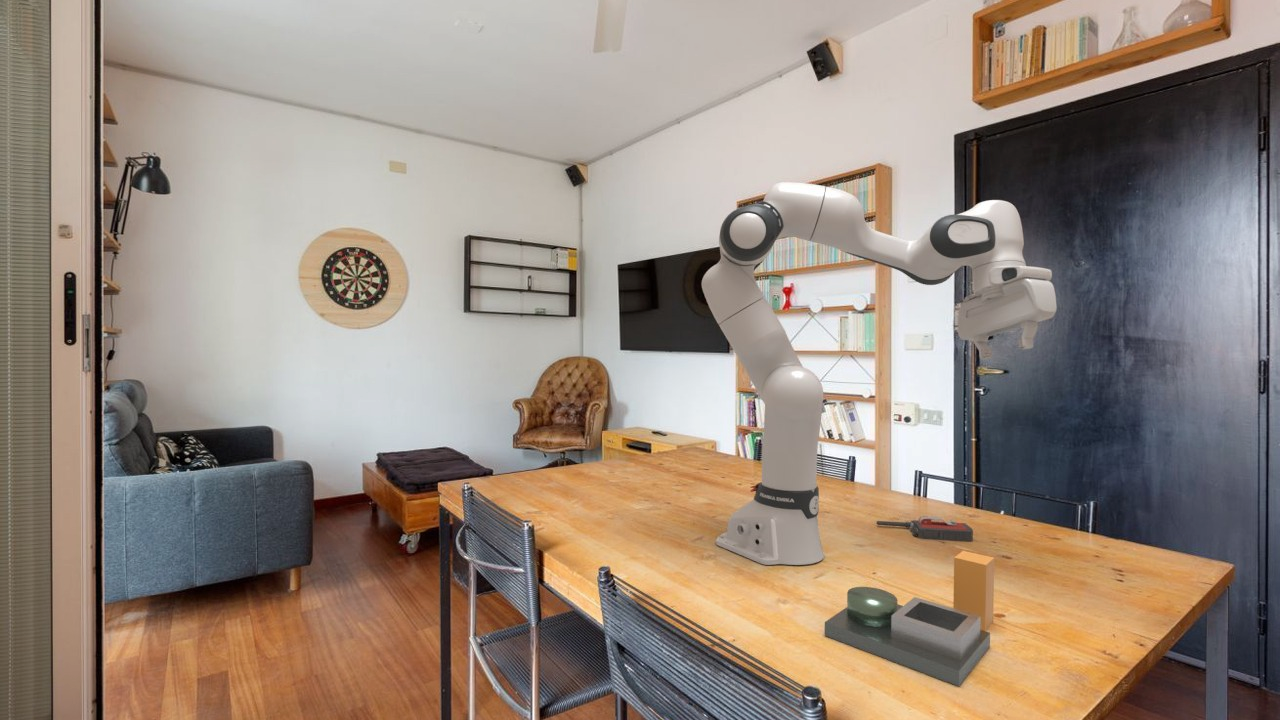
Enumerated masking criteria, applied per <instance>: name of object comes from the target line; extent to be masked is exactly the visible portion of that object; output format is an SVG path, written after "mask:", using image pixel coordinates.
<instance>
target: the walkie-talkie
mask: <svg viewBox="0 0 1280 720" xmlns="http://www.w3.org/2000/svg"><path fill="white" fill-rule="evenodd" d="M876 525H877V526H886V527H887V526H888V527H905V528H908V530H909V531H910V532H911V533H912V535H913V536H915V537H917V538H918V539H921V540H931V541H932V540H933V541H949V542H965V543H969V542H970V543H972V542H973V541H974V537H973V535H974V529H973V528H972V527H971V526H969V525H968V524H967V523H966V522H965V523H964V522H956V521H955V520H954V519H950V521H945V520H944V519H942V518H941V517H939V516H925V515H923V516H920V517H919V518H918V520H916V519H910V521H905V522H904V521H889V520H877V521H876ZM916 535H917V536H916Z"/></svg>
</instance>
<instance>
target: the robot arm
mask: <svg viewBox="0 0 1280 720" xmlns="http://www.w3.org/2000/svg"><path fill="white" fill-rule="evenodd" d="M782 238H796V239H800V240H803V241H808V242H812V243H816V244H819V245H824V246H828V247H831V248H835V249H837V250H839V251H842V252H843V253H846V254H849V255H851V256H854V257H856V258H859V259H862V260H866V261H869V262H872V263H875V264H878V265H881V266H884V267H888V268H891V269H895V270H896V271H899V272H901V273H903V274H904V275H906V276H907V277H909V278H910V280H911V279H912V280H914V281H915V282H916V283H919V284H921V285H925V286H935V285H940V284H942V283H944V282H946V281H948V280H949V279H951V277H952V276H953V275H954V273H956V271H957V270H958V269H960V268H961V267H963V266H969V267H970V268H971V270H972V271H971V273H972V274H971V275H972V285H973V294H970V295H967V296H965V297H964V299H963V301H962V302H961V304H960V307H959V309H958V316H957V317H958V318H957V336H958V337H959V338H960V340H964V341H973V344H974V345H975V347H976V349H977V350H978V352H979V355H978V356H979V359H981V360H988V359H993V357H994V354H993V351H994V350H993V349H992V348H989V346H988V344H987V343H988V342H989V337H992V336H995V335H998V334H1002V333H1005V332H1009V331H1013V330H1016V329H1020V328H1021V329H1023V332H1022V334H1021V336H1020V337H1021V338H1018V339H1017V344H1018V349H1019V350H1030V349H1033V348H1034V338H1035V335H1036V333H1037V331H1038V329H1039V327H1038V323H1040V322H1042V321H1047V320H1049V319H1053V318H1054V316H1055V315H1056V313H1057V308H1058V307H1057V296H1056V291H1055V285H1054V284H1053V283H1052V282H1051V280H1052V278H1053V273H1052V272H1053V271H1052V269H1050V268H1044V267H1039V266H1027V264H1026V261H1025V258H1024V255H1023V249H1024V246H1025V241H1024V232H1023V225H1022V220H1021V217H1020V213H1019V212H1018V209H1017V208H1016V206H1015V205H1013V203H1011V202H1009V201H1006V200H1002V199H991V200H990V199H989V200H983V201H981V202H978V203H977V204H975V205H974V206H973V207H971V208H970V209H968V210H966V211H963V212H960V213H957V214H948V215H945V216H943V217H940V218H939V219H937V220H936V221H935V222H934V223H933V224H932V225H931V226H930V227H929V228H928V229H927V230H926V232H924V234H923V235H922V236H921V237H920V238H917V239H914V240H908V239H904V238H900V237H897V236H894V235H891V234H887V233H884V232H881V231H878V230H876V229H873V228H872V227H870V225H869V224H868V223H867V221H866V220H865V213H864V210H863V207H862V204H861V202H860V201H859V199H858V198H857V197H856V196H855V195H854V194H852V193H850V192H847V191H845V190H842V189H839V188H834V187H830V186H826V185H819V184H814V183H807V182H796V181H795V182H793V181H792V182H791V181H788V182H787V181H783V182H782V181H781V182H778V183H775V184H773V185H772V186H771V187H770V188H769V189H768V191H767V192H766V194H765V196H764V198H763V200H762V201H759V202H756V203H752V204H749V205H744V206H741V207H739V208H736V209H735V210H734V209H733V211H731V212H730V213H729V214H728V215H727V216H726V217H725V218H724V220H723V222H722V223H721V226H720V231H719V236H718V244H719V252H720V254H719V255H720V257H719V258H720V259H719V261H718V262H717V263H716V264H714V265H713V266H711V267H710V268H709V269H708V270H707V271H706V272H705V273H704V275H703V277H702V280H701V289H702V292H703V294H704V298H705V299H706V300H705V301H706V303H707V304H708V308H709V309H710V311H711V313H712V315H713V317H714V319H715V321H716V323H717V325H718V326H719V327H720V330H721V332H722V333H723V335H724V336H725V338H726V340H727V341H728V343H729V345H730V346H731V348H732V350H733V351H734V353H735V355H736V356H737V358H738V360H739V362H740V364H741V365H742V367H743V368H744V370H745V372H746V374H747V376H748V378H749V380H750V381H751V383H752V384H753V386H754V388H755V390H756V391H757V394H758V395H759V397H760V398H761V400H762V403H764V417H763V418H764V419H763V420H764V423H763V433H762V443H761V482H759V483H756V484H755V485H753V486H752V485H751V486H750V487H749V488H750V493H752V492H753V493H754V492H755V494H754V496H753V499H752V500H750V501H749V502H748V503H746V504H744V505H743V506H741V507H740V508H738V509H737V510H736V511H734V512H732V514H731V515H730V516H729V519H728V522H727V528H726V532H723V533H721V534H720V535H718V536H717V538H716V540H715V545H716V546H718V547H721V548H723V549H725V550H728V551H731V552H732V553H735V554H737V555H740V556H742V557H745V558H747V559H749V560H751V561H754V562H756V563H758V564H761V565H767V566H771V565H789V566H793V565H794V566H801V565H802V566H803V565H804V566H805V565H812V564H815V563H818V562H820V561H822V560H823V559H824V558H825V553H824V550H823V547H822V541H821V536H820V532H819V531H820V530H819V523H818V521H819V520H818V515H819V508H820V506H819V505H820V499H819V498H820V495H819V493H820V492H819V491H820V489H819V486H817V484H818V483H817V482H818V481H817V480H818V479H817V477H818V473H817V472H818V471H817V470H818V446H819V438H820V430H821V422H822V415H823V414H822V413H823V412H822V411H823V401H824V387H823V385H822V382H821V381H820V379H819V377H818V376H817V374H815V373H814V371H811V370H810V369H808V368H806V367H804V366H803V364H802V362H801V360H800V359H799V357H798V355H797V353H796V351H795V349H794V347H793V345H792V342H791V341H790V339H789V337H788V334H787V332H786V330H785V328H784V326H783V325H782V323H781V321H780V319H778V316H777V315H776V313H775V312H774V310H773V308H772V307H771V304H769V302H768V299H767V298H766V297H765V295H764V294H763V292H762V291H761V289H760V287H759V286H758V283H757V281H756V278H755V273H754V271H756V269H757V268H758V267H759V266H761V264H762V263H763V262H764V261H765V260H766V258H767V257H768V256H769V255H770V254H771V251H772V250H773V246H774V244H775V242H776V241H778V240H779V239H782Z"/></svg>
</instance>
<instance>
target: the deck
mask: <svg viewBox="0 0 1280 720" xmlns="http://www.w3.org/2000/svg"><path fill="white" fill-rule="evenodd" d="M846 595H847V601H846V603H847V605H846V607H845V608H843V609H842V610H841V611H839V612H837V613H836V614H834V615H833V616H831V617H829V618H828V619H827V620H826V621H824V636H825V637H827V638H830V639H832V640H835V641H838V642H840V643H842V644H845V645H848V646H851V647H854V648H856V649H859V650H862V651H864V652H867V653H870V654H872V655H874V656H878V657H880V658H882V659H885V660H887V661H889V662H890V661H891V662H894V663H896V664H898V665H901V666H904V667H906V668H909V669H911V670H914V671H916V672H920V673H922V674H925V675H927V676H930V677H933V678H935V679H938V680H941V681H943V682H946V683H949V684H950V685H954V686H956V687H960V686H961V685H962V684H963V683H964V681H965V680H966V679H967V677H968V676H969V675H970V673H971V672H972V670H974V668H975V667H976V665H977V664H978V663H979V662H980V660H981V659H982V658H983V656H984V655H985V654H986V653H987V652H988V651H989V649H990V647H991V632H989V631H987V630H986V631H983V630H980V619H981V616H978V615H974V614H971V613H968V612H964V611H961V610H957V609H954V608H953V607H950V606H947V605H944V604H939V603H937V602H935V601H934V602H933V601H930V600H926V599H923V598H920V597H916V596H914V597H913V598H911V599H910V600H909V601H908V602H906V603H905V604H904V605H901V604H899V603H898V598H897V597H896V596H895V595H894V594H892V593H891V592H890V591H887V590H884V589H880V588H877V587H871V586H856V587H852V588H849V589H848V591H847V592H846Z"/></svg>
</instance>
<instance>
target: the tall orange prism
mask: <svg viewBox="0 0 1280 720" xmlns="http://www.w3.org/2000/svg"><path fill="white" fill-rule="evenodd" d="M953 560H954V561H953V606H952V608H954V609H957V610H961V611H964V612H968V613H971V614H974V615H978V616H981V619H980V630H983V631H986V632H987V630H988V628H989V627H990V626H991V625H992V624H993V622H994V595H995V594H994V592H995V591H994V589H995V587H994V586H995V584H994V583H995V557H993V556H989V555H985V554H980V553H974V552H970V551H965V550H962V551H961V552H959V553H958V554H957V555H955V556H954V558H953Z"/></svg>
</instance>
